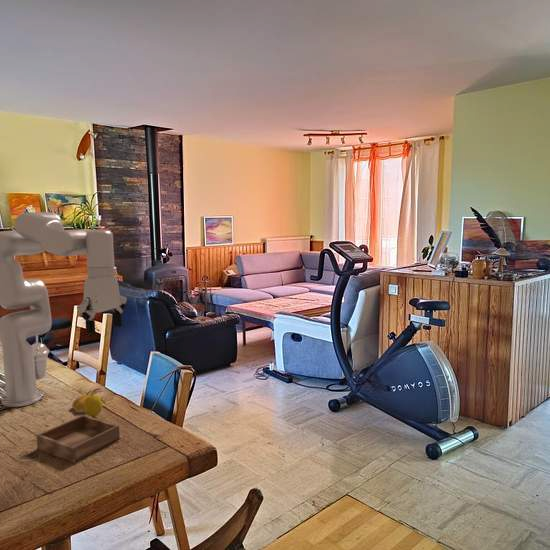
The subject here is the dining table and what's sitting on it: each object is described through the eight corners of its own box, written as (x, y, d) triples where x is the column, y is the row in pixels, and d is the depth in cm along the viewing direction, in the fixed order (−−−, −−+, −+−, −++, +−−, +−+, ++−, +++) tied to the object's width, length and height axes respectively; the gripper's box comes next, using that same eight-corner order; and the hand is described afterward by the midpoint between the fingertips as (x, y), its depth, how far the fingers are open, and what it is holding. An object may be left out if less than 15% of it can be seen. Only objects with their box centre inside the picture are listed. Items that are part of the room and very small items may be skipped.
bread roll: (78, 415, 157) (78, 404, 156) (70, 407, 164) (69, 396, 163) (103, 409, 162) (103, 397, 162) (94, 401, 169) (93, 390, 168)
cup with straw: (28, 374, 197) (24, 327, 194) (52, 371, 200) (49, 324, 198) (27, 381, 189) (23, 331, 186) (52, 377, 193) (49, 329, 190)
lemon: (87, 422, 151) (85, 398, 150) (82, 416, 156) (81, 393, 155) (105, 418, 154) (103, 394, 153) (100, 412, 159) (98, 389, 158)
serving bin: (37, 448, 135) (36, 435, 134) (84, 427, 148) (83, 414, 148) (73, 462, 127) (72, 448, 126) (119, 438, 140) (118, 425, 140)
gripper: (115, 268, 150) (118, 322, 152) (67, 275, 135) (71, 334, 137) (132, 270, 146) (135, 324, 148) (84, 277, 131) (88, 337, 134)
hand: (104, 329), depth 143 cm, fingers open, 9 cm apart
